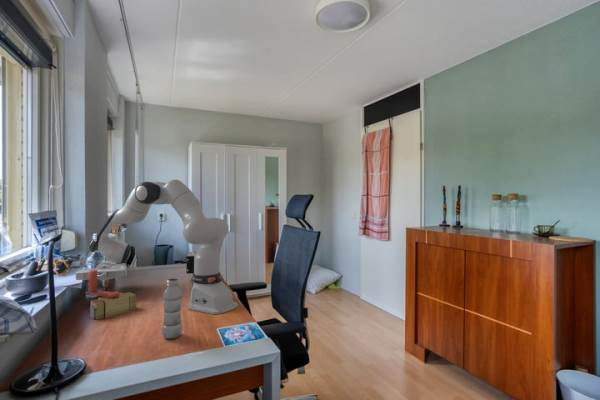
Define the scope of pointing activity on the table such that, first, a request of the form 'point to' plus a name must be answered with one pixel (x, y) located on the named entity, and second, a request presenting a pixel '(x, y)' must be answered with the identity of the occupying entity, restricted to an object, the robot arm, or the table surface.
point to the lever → (94, 286)
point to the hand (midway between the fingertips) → (97, 277)
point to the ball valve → (190, 264)
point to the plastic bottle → (172, 310)
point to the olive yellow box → (112, 305)
